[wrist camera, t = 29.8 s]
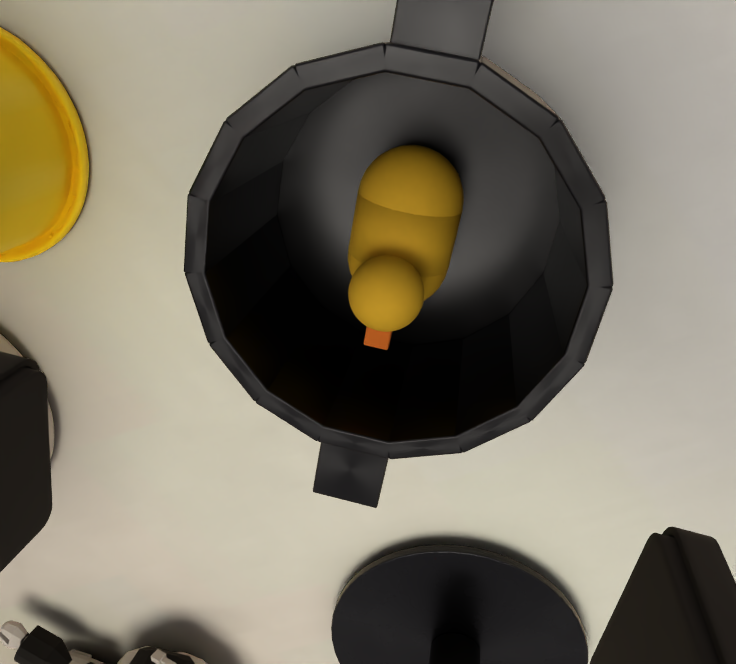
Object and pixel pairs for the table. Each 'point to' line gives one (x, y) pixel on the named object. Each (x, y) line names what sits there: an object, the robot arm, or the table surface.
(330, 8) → the table surface
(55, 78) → the stacking cups
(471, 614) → the pan lid
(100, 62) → the table surface
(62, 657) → the robot toy
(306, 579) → the table surface
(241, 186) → the pan
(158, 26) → the table surface
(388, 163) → the duck
